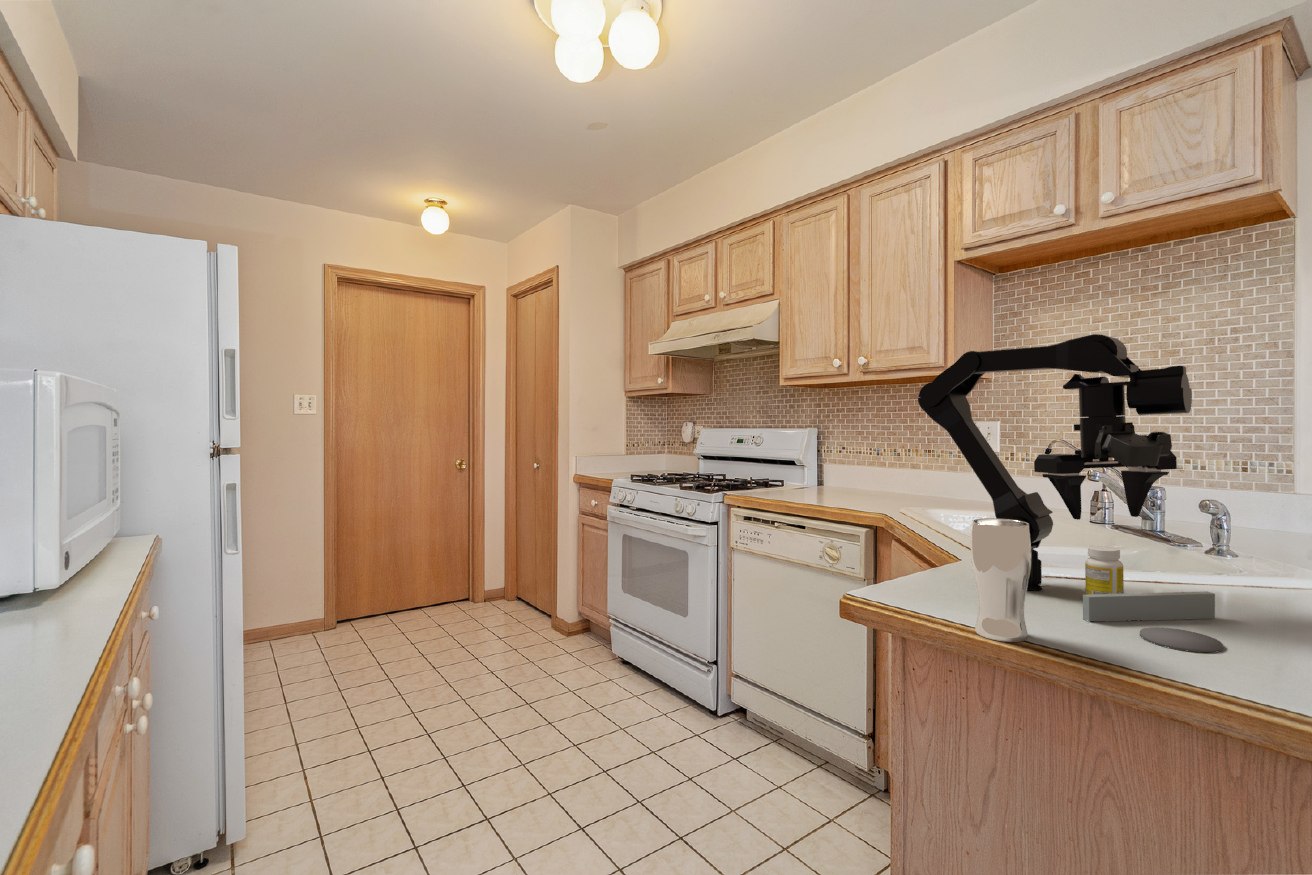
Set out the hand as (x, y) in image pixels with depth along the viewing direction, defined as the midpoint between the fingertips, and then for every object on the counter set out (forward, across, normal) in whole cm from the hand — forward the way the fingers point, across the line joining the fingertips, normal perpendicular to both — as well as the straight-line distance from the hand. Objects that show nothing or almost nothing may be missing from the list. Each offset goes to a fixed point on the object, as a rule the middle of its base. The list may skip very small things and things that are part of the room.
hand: (1105, 517), depth 94 cm
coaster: (+13, -4, -16) cm, 21 cm away
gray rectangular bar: (+13, -1, -8) cm, 15 cm away
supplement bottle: (+13, 0, 0) cm, 13 cm away
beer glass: (+13, -24, -12) cm, 30 cm away
